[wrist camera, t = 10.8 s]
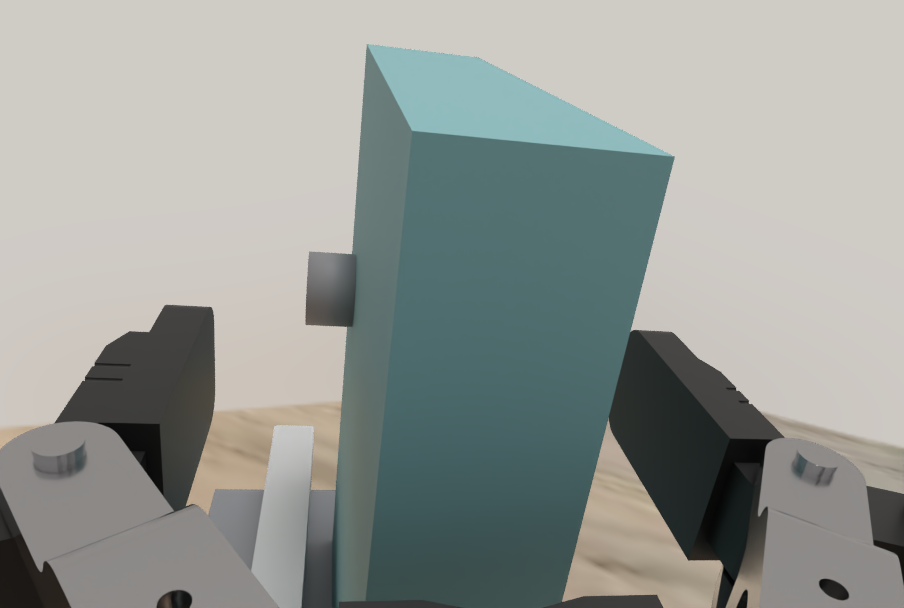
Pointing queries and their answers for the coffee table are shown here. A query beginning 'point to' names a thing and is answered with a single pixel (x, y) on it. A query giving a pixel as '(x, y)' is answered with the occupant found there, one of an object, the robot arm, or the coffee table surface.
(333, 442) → the coffee table surface
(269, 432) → the coffee table surface
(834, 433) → the coffee table surface
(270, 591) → the track board
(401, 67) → the door panel
